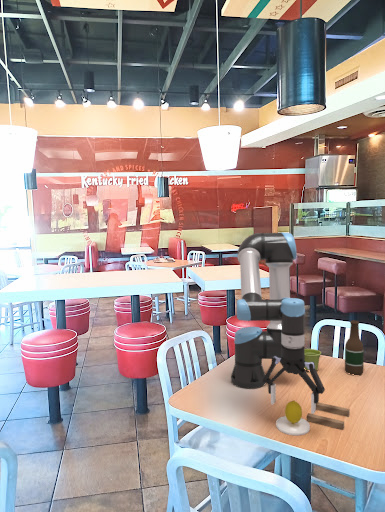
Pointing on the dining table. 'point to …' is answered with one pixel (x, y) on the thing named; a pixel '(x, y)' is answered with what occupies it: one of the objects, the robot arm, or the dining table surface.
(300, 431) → the saucer
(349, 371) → the beer bottle
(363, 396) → the dining table surface
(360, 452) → the dining table surface
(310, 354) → the plant pot
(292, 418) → the lemon
